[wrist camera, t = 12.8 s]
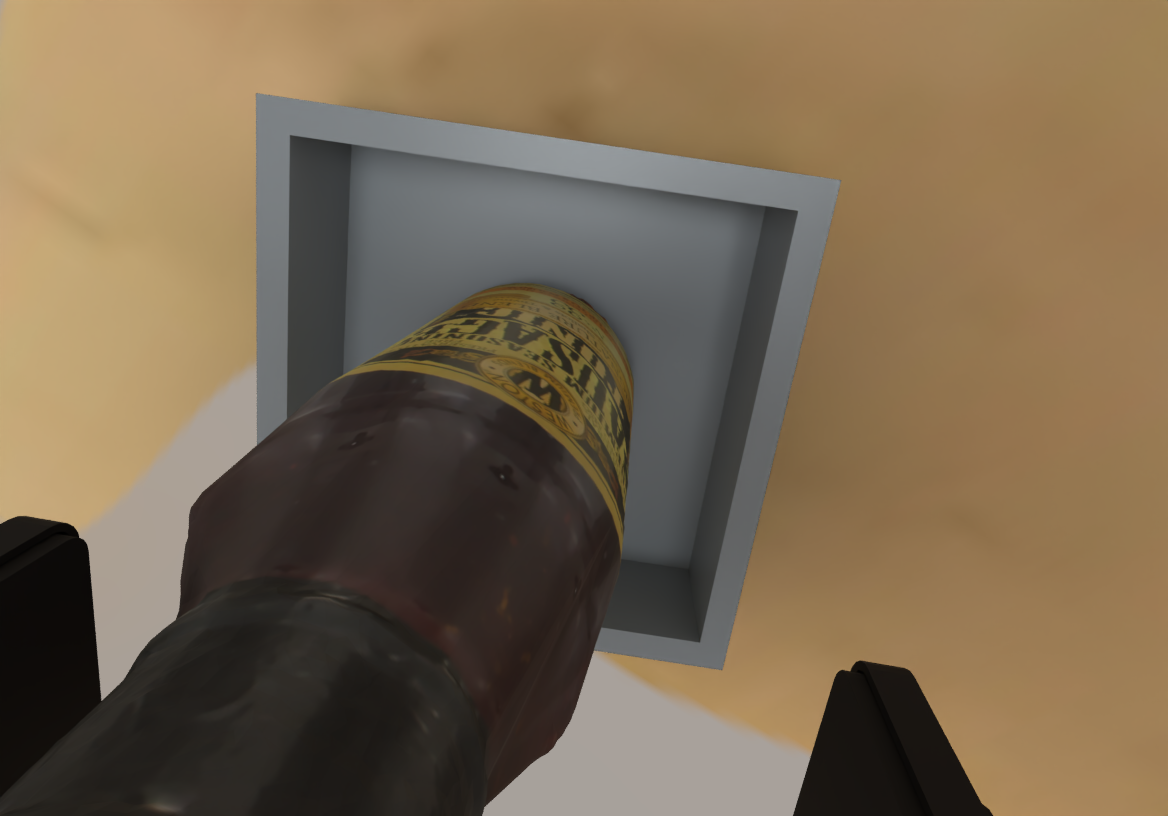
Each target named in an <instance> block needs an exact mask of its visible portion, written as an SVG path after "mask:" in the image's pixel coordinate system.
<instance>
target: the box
mask: <svg viewBox="0 0 1168 816" xmlns="http://www.w3.org/2000/svg"><path fill="white" fill-rule="evenodd" d="M840 183H841V180H836V179H830V178H823V177H816V176H809V175H803V174H796V173H789V172H783V171H776V170H769V169H762V168H756V167H749V166H742V165H735V164H729V163H722V162H715V161H709V160H702V159H695V158H688V157H682V156H675V155H668V154H662V153H655V152H648V151H641V150H635V149H628V148H621V147H614V146H608V145H601V144H594V143H588V142H581V141H574V140H567V139H561V138H554V137H547V136H541V135H534V134H527V133H520V132H514V131H507V130H500V129H493V128H487V127H480V126H473V125H467V124H460V123H453V122H446V121H440V120H433V119H426V118H420V117H413V116H406V115H399V114H393V113H386V112H379V111H372V110H366V109H359V108H352V107H346V106H339V105H332V104H325V103H319V102H312V101H305V100H299V99H292V98H285V97H278V96H272V95H265V94H258V93H256V243H257V445H258V444H259V443H260V442H261V441H263V440H264V439H265V438H266V437H267V436H268V435H270V434H271V433H272V432H273V431H274V430H275V429H276V428H277V427H279V426H280V425H281V424H282V423H283V422H284V421H285V420H286V419H288V418H289V417H290V416H291V415H292V414H293V413H294V412H295V411H297V410H298V409H299V408H300V407H301V406H302V405H303V404H305V403H306V402H307V401H308V400H309V399H310V398H311V397H312V396H314V395H315V394H316V393H317V392H318V391H320V390H321V389H322V388H324V387H325V386H326V385H327V384H329V383H330V382H332V381H334V380H336V379H337V378H339V377H341V376H343V375H344V374H346V373H348V372H349V371H351V370H353V369H354V368H356V367H357V366H359V365H361V364H362V363H364V362H366V361H367V360H369V359H371V358H372V357H374V356H376V355H377V354H379V353H381V352H382V351H384V350H385V349H387V348H389V347H390V346H392V345H394V344H395V343H397V342H398V341H400V340H402V339H403V338H405V337H406V336H408V335H410V334H411V333H413V332H414V331H416V330H417V329H419V328H420V327H422V326H424V325H425V324H427V323H428V322H430V321H431V320H433V319H434V318H436V317H438V316H439V315H441V314H442V313H444V312H445V311H447V310H449V309H450V308H452V307H453V306H455V305H456V304H458V303H459V302H461V301H463V300H464V299H466V298H468V297H469V296H471V295H473V294H475V293H477V292H480V291H482V290H485V289H488V288H492V287H495V286H499V285H505V284H512V283H533V284H541V285H545V286H548V287H552V288H555V289H558V290H561V291H564V292H566V293H569V294H573V295H575V296H576V297H577V298H581V299H584V300H585V301H586V302H587V303H588V304H590V305H591V306H592V307H593V309H594V310H595V311H596V312H597V313H598V314H600V315H601V316H602V317H604V318H605V319H606V321H607V323H608V325H609V326H610V328H611V329H612V330H613V331H614V333H615V334H616V336H617V338H618V339H619V341H620V343H621V345H622V347H623V349H624V351H625V353H626V355H627V358H628V361H629V365H630V368H631V371H632V375H633V380H634V399H633V417H632V429H631V441H630V457H629V468H628V470H629V473H628V487H627V495H626V505H625V518H624V526H625V530H624V537H623V545H622V554H621V563H620V570H619V574H618V578H617V581H616V584H615V587H614V590H613V593H612V596H611V599H610V602H609V605H608V609H607V612H606V615H605V618H604V621H603V624H602V627H601V630H600V633H599V636H598V639H597V642H596V645H595V648H594V650H595V651H601V652H608V653H614V654H621V655H627V656H634V657H640V658H647V659H653V660H660V661H666V662H673V663H679V664H685V665H692V666H698V667H705V668H711V669H718V670H722V669H723V665H724V661H725V657H726V653H727V649H728V645H729V640H730V636H731V632H732V628H733V624H734V620H735V616H736V612H737V607H738V603H739V599H740V595H741V591H742V587H743V583H744V579H745V575H746V570H747V566H748V562H749V558H750V554H751V550H752V546H753V542H754V537H755V533H756V529H757V525H758V521H759V517H760V513H761V509H762V504H763V500H764V496H765V492H766V488H767V484H768V480H769V476H770V472H771V467H772V463H773V459H774V455H775V451H776V447H777V443H778V439H779V434H780V430H781V426H782V422H783V418H784V414H785V410H786V406H787V401H788V397H789V393H790V389H791V385H792V381H793V377H794V373H795V369H796V364H797V360H798V356H799V352H800V348H801V344H802V340H803V336H804V331H805V327H806V323H807V319H808V315H809V311H810V307H811V303H812V299H813V294H814V290H815V286H816V282H817V278H818V274H819V270H820V266H821V261H822V257H823V253H824V249H825V245H826V241H827V237H828V233H829V228H830V224H831V220H832V216H833V212H834V208H835V204H836V200H837V196H838V191H839V187H840Z"/></svg>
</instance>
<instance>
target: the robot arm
mask: <svg viewBox="0 0 1168 816" xmlns="http://www.w3.org/2000/svg"><path fill="white" fill-rule="evenodd" d="M92 598H93V597H92V586H91V574H90V563H89V551H88V546H87V544H86V542H85V541H84V540H83V539H81V538H79V534H78V532H77V530H76V529H75V528H74V526H72V525H70V524H68V523H62V522H57V521H51V520H45V519H39V518H34V517H28V516H17V517H15V518H12V519H9V520H7V521H5V522H3V523H2V524H0V797H1V796H2V795H3V794H4V793H5V792H6V791H7V790H8V789H9V788H10V787H11V786H12V785H13V784H14V783H15V782H16V781H17V780H18V779H19V778H20V777H21V776H22V775H23V774H24V773H25V772H26V771H27V770H29V769H30V768H31V767H32V766H33V765H34V764H35V763H36V762H37V761H38V760H39V759H41V758H42V757H43V756H44V755H45V753H46V752H47V751H48V750H49V749H50V748H51V747H52V746H53V745H54V744H55V743H56V742H57V741H58V740H60V739H61V738H62V737H64V736H65V735H66V734H67V733H68V732H69V731H70V730H71V729H72V728H73V727H75V726H76V725H77V724H78V723H79V722H80V721H81V720H82V719H83V718H84V717H85V716H86V715H87V714H88V713H90V712H91V711H92V710H93V709H94V708H95V707H96V706H97V705H98V704H99V703H100V702H101V693H100V692H101V691H100V680H99V668H98V657H97V644H96V633H95V621H94V609H93V599H92ZM793 816H993V815H992V813H991V812H990V810H989V809H988V808H987V807H985V806H984V805H983V804H982V803H981V801H980V800H979V798H978V796H977V794H976V792H975V790H974V788H973V786H972V784H971V783H970V781H969V779H968V777H967V775H966V773H965V771H964V769H963V768H962V766H961V764H960V762H959V760H958V758H957V756H956V754H955V752H954V751H953V749H952V747H951V745H950V743H949V741H948V739H947V737H946V735H945V734H944V732H943V730H942V728H941V726H940V724H939V722H938V720H937V719H936V717H935V715H934V713H933V711H932V709H931V707H930V705H929V703H928V702H927V700H926V698H925V696H924V694H923V692H922V690H921V688H920V687H919V685H918V683H917V681H916V679H915V677H914V676H913V674H912V673H911V672H910V670H908V669H905V668H900V667H895V666H889V665H883V664H877V663H872V662H866V661H858V662H856V663H855V664H854V665H853V667H852V669H851V671H844V670H841V671H839V672H838V673H837V674H836V677H835V679H834V682H833V685H832V689H831V692H830V695H829V698H828V702H827V705H826V708H825V712H824V715H823V718H822V722H821V725H820V728H819V731H818V735H817V738H816V741H815V745H814V748H813V751H812V755H811V758H810V761H809V765H808V768H807V771H806V775H805V778H804V781H803V784H802V788H801V791H800V794H799V798H798V801H797V804H796V808H795V811H794V814H793Z"/></svg>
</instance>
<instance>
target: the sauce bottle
mask: <svg viewBox="0 0 1168 816" xmlns="http://www.w3.org/2000/svg"><path fill="white" fill-rule="evenodd" d="M633 399H634V380H633V375H632V371H631V368H630V365H629V361H628V358H627V355H626V353H625V351H624V349H623V347H622V345H621V343H620V341H619V339H618V338H617V336H616V334H615V333H614V331H613V330H612V329H611V328H610V326H609V325H608V323H607V321H606V319H605V318H604V317H602V316H601V315H600V314H598V313H597V312H596V311H595V310H594V309H593V307H592V306H591V305H590V304H588V303H587V302H586V301H585V300H584V299H581V298H577V297H576V296H575V295H573V294H569V293H566V292H564V291H561V290H558V289H555V288H552V287H548V286H545V285H541V284H533V283H512V284H505V285H499V286H495V287H492V288H488V289H485V290H482V291H480V292H477V293H475V294H473V295H471V296H469V297H468V298H466V299H464V300H463V301H461V302H459V303H458V304H456V305H455V306H453V307H452V308H450V309H449V310H447V311H445V312H444V313H442V314H441V315H439V316H438V317H436V318H434V319H433V320H431V321H430V322H428V323H427V324H425V325H424V326H422V327H420V328H419V329H417V330H416V331H414V332H413V333H411V334H410V335H408V336H406V337H405V338H403V339H402V340H400V341H398V342H397V343H395V344H394V345H392V346H390V347H389V348H387V349H385V350H384V351H382V352H381V353H379V354H377V355H376V356H374V357H372V358H371V359H369V360H367V361H366V362H364V363H362V364H361V365H359V366H357V367H356V368H354V369H353V370H351V371H349V372H348V373H346V374H344V375H343V376H341V377H339V378H337V379H336V380H334V381H332V382H330V383H329V384H327V385H326V386H325V387H324V388H322V389H321V390H320V391H318V392H317V393H316V394H315V395H314V396H312V397H311V398H310V399H309V400H308V401H307V402H306V403H305V404H303V405H302V406H301V407H300V408H299V409H298V410H297V411H295V412H294V413H293V414H292V415H291V416H290V417H289V418H288V419H286V420H285V421H284V422H283V423H282V424H281V425H280V426H279V427H277V428H276V429H275V430H274V431H273V432H272V433H271V434H270V435H268V436H267V437H266V438H265V439H264V440H263V441H261V442H260V443H259V444H258V445H257V446H256V447H255V448H253V449H252V450H251V451H250V452H249V453H248V454H247V455H245V456H244V457H243V458H242V459H241V460H240V461H238V462H237V463H236V464H235V465H234V466H233V467H232V468H230V469H229V470H228V471H227V472H226V473H225V474H223V475H222V476H221V477H220V478H219V479H218V480H216V481H215V482H214V483H213V484H212V485H210V486H209V487H208V488H207V489H206V490H205V491H203V492H202V494H201V495H200V496H199V498H198V499H197V501H196V502H195V503H194V504H193V506H192V507H191V510H190V514H189V530H188V539H187V542H186V546H185V553H184V560H183V567H182V574H181V598H180V608H179V612H178V615H177V618H176V620H175V621H174V622H173V623H171V624H170V625H169V626H167V627H166V628H165V629H163V630H162V631H161V632H160V633H159V634H158V635H156V636H155V637H154V638H153V639H152V640H150V642H149V643H148V644H147V646H145V648H144V649H143V650H142V651H141V653H140V654H139V656H138V657H137V659H136V660H135V662H134V664H133V665H132V667H131V669H130V670H129V672H128V674H127V675H126V677H125V679H124V680H123V681H122V682H121V683H120V685H118V686H117V687H116V688H115V689H114V690H113V691H112V692H111V693H110V694H109V695H108V696H107V697H106V698H105V699H104V700H102V701H101V702H100V703H99V704H98V705H97V706H96V707H95V708H94V709H93V710H92V711H91V712H90V713H88V714H87V715H86V716H85V717H84V718H83V719H82V720H81V721H80V722H79V723H78V724H77V725H76V726H75V727H73V728H72V729H71V730H70V731H69V732H68V733H67V734H66V735H65V736H64V737H62V738H61V739H60V740H58V741H57V742H56V743H55V744H54V745H53V746H52V747H51V748H50V749H49V750H48V751H47V752H46V753H45V755H44V756H43V757H42V758H41V759H39V760H38V761H37V762H36V763H35V764H34V765H33V766H32V767H31V768H30V769H29V770H27V771H26V772H25V773H24V774H23V775H22V776H21V777H20V778H19V779H18V780H17V781H16V782H15V783H14V784H13V785H12V786H11V787H10V788H9V789H8V790H7V791H6V792H5V793H4V794H3V795H2V796H1V797H0V816H482V814H483V810H484V807H485V806H486V805H487V804H488V803H489V802H490V801H492V800H493V799H494V798H495V797H496V796H497V795H498V794H499V793H500V792H501V791H502V790H503V789H505V788H506V787H507V786H508V785H509V784H510V783H511V782H512V781H513V780H514V779H515V778H516V777H518V776H519V775H520V774H521V773H522V772H523V771H524V770H525V769H526V768H527V767H528V766H529V765H530V764H532V763H533V762H534V761H535V760H537V759H538V758H540V757H541V756H543V755H545V754H547V753H548V752H549V751H550V750H551V749H552V748H553V747H554V745H555V744H556V742H557V740H558V739H559V738H560V737H561V736H562V734H563V733H564V731H565V729H566V727H567V726H568V724H569V722H570V720H571V718H572V715H573V713H574V710H575V708H576V705H577V701H578V698H579V695H580V692H581V689H582V686H583V682H584V679H585V676H586V673H587V670H588V667H589V664H590V660H591V657H592V654H593V651H594V648H595V645H596V642H597V639H598V636H599V633H600V630H601V627H602V624H603V621H604V618H605V615H606V612H607V609H608V605H609V602H610V599H611V596H612V593H613V590H614V587H615V584H616V581H617V578H618V574H619V570H620V563H621V554H622V545H623V537H624V530H625V526H624V518H625V505H626V495H627V487H628V473H629V470H628V468H629V457H630V441H631V429H632V417H633Z"/></svg>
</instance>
